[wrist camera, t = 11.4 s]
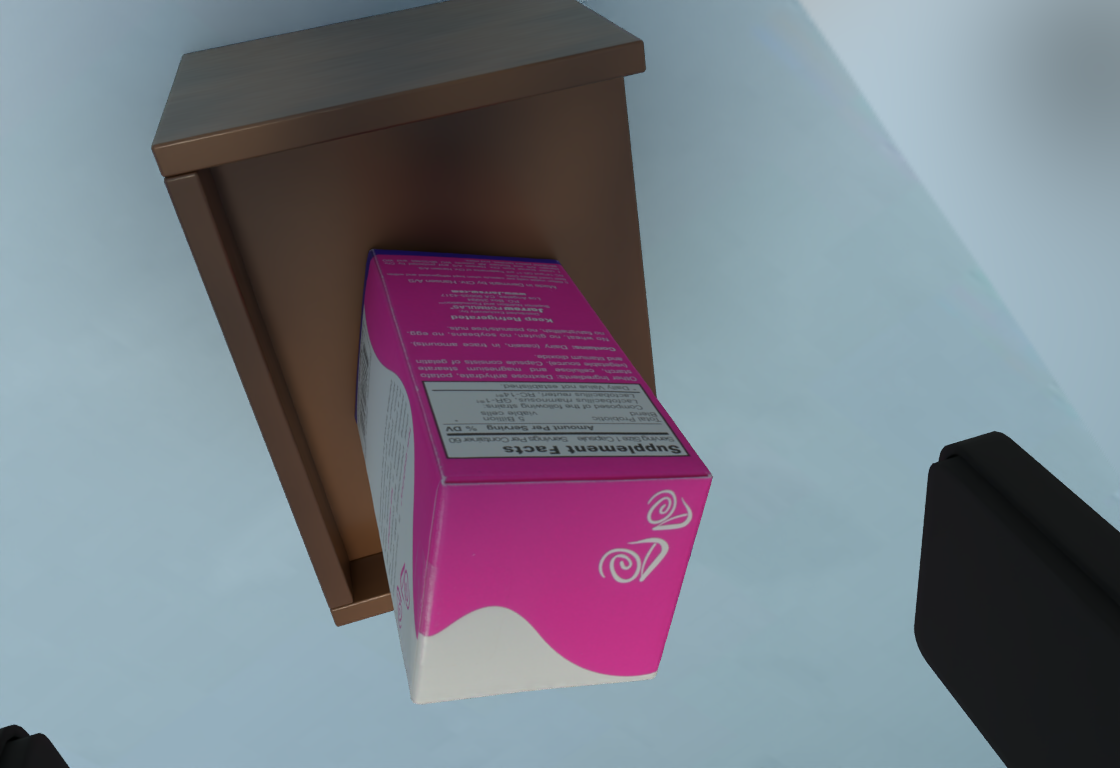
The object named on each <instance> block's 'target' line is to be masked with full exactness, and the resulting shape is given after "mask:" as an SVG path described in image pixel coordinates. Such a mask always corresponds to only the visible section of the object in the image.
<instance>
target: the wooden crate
mask: <svg viewBox="0 0 1120 768" xmlns="http://www.w3.org/2000/svg"><path fill="white" fill-rule="evenodd" d="M645 70H646V65H645V53H644V43H643V41H642V40H641V39H639V38H637V37H636V36H634V35H633V34H631V33H629V32H628V31H626V30H624V29H623V28H621V27H619V26H618V25H616V24H614V23H613V22H611V21H609V20H608V19H606V18H604V17H603V16H601V15H599V14H598V13H596V12H594V11H593V10H591V9H589V8H588V7H586V6H584V5H583V4H581V3H579V2H578V1H576V0H450V1H445V2H440V3H435V4H430V5H425V6H420V7H415V8H410V9H406V10H401V11H396V12H391V13H386V14H381V15H376V16H371V17H366V18H361V19H356V20H351V21H346V22H341V23H336V24H331V25H326V26H322V27H317V28H312V29H307V30H302V31H297V32H292V33H287V34H282V35H277V36H272V37H267V38H262V39H257V40H252V41H247V42H242V43H238V44H233V45H228V46H223V47H218V48H213V49H208V50H203V51H198V52H193V53H188V54H184V55H183V56H182V59H181V61H180V64H179V67H178V70H177V73H176V76H175V79H174V82H173V85H172V88H171V91H170V93H169V96H168V99H167V102H166V105H165V108H164V111H163V114H162V117H161V120H160V123H159V126H158V128H157V131H156V134H155V137H154V140H153V143H152V146H151V149H152V152H153V154H154V157H155V159H156V162H157V165H158V167H159V170H160V172H161V175H162V176H163V177H165V178H164V183H165V185H166V188H167V190H168V193H169V196H170V198H171V201H172V203H173V206H174V209H175V211H176V214H177V216H178V219H179V221H180V224H181V227H182V229H183V232H184V234H185V237H186V240H187V242H188V245H189V247H190V250H191V252H192V255H193V258H194V260H195V263H196V265H197V268H198V270H199V273H200V276H201V278H202V281H203V283H204V286H205V289H206V291H207V294H208V296H209V299H210V301H211V304H212V307H213V309H214V312H215V314H216V317H217V320H218V322H219V325H220V327H221V330H222V332H223V335H224V338H225V340H226V343H227V345H228V348H229V351H230V353H231V356H232V358H233V361H234V363H235V366H236V369H237V371H238V374H239V376H240V379H241V382H242V384H243V387H244V389H245V392H246V394H247V397H248V400H249V402H250V405H251V407H252V410H253V413H254V415H255V418H256V420H257V423H258V425H259V428H260V431H261V433H262V436H263V438H264V441H265V443H266V446H267V449H268V451H269V454H270V456H271V459H272V462H273V464H274V467H275V469H276V472H277V474H278V477H279V480H280V482H281V485H282V487H283V490H284V493H285V495H286V498H287V500H288V503H289V505H290V508H291V511H292V513H293V516H294V518H295V521H296V524H297V526H298V529H299V531H300V534H301V536H302V539H303V542H304V544H305V547H306V549H307V552H308V555H309V557H310V560H311V562H312V565H313V567H314V570H315V573H316V575H317V578H318V580H319V583H320V586H321V588H322V591H323V593H324V596H325V598H326V601H327V604H328V606H329V608H330V612H331V614H332V617H333V619H334V622H335V624H336V626H338V627H339V626H342V625H346V624H349V623H352V622H356V621H359V620H363V619H366V618H369V617H373V616H376V615H379V614H383V613H386V612H390V611H393V610H394V607H393V602H392V597H391V592H390V588H389V583H388V577H387V572H386V567H385V562H384V557H383V551H382V546H381V541H380V536H379V530H378V525H377V520H376V515H375V510H374V505H373V499H372V494H371V489H370V483H369V478H368V474H367V469H366V463H365V458H364V454H363V449H362V445H361V440H360V435H359V430H358V426H357V423H356V421H355V401H356V381H357V365H358V351H359V338H360V325H361V312H362V300H363V289H364V280H365V270H366V263H367V258H368V253H369V250H371V249H379V250H402V251H420V252H437V253H454V254H469V255H485V256H502V257H519V258H534V259H552V260H557V261H559V262H560V264H561V265H562V267H563V268H564V269H565V271H566V272H567V274H568V275H569V276H570V278H571V279H572V281H573V282H574V283H575V285H576V286H577V288H578V289H579V290H580V292H581V293H582V294H583V296H584V297H585V299H586V300H587V301H588V303H589V304H590V306H591V307H592V309H593V310H594V311H595V313H596V314H597V316H598V317H599V318H600V320H601V321H602V323H603V324H604V325H605V327H606V328H607V330H608V331H609V332H610V334H611V335H612V337H613V338H614V340H615V341H616V342H617V344H618V345H619V346H620V348H621V349H622V351H623V352H624V353H625V355H626V356H627V358H628V359H629V360H630V361H631V363H632V365H633V366H634V367H635V368H636V370H637V371H638V372H639V374H640V375H641V377H642V378H643V380H644V381H645V382H646V383H647V385H648V386H649V387H650V389H651V390H652V392H653V394H654V395H655V397H656V398H657V396H656V386H655V376H654V367H653V357H652V347H651V337H650V328H649V318H648V308H647V299H646V289H645V279H644V269H643V260H642V250H641V240H640V230H639V221H638V211H637V201H636V191H635V182H634V172H633V162H632V153H631V143H630V133H629V123H628V114H627V104H626V94H625V84H624V76H628V75H633V74H638V73H642V72H644V71H645Z"/></svg>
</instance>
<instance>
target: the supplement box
mask: <svg viewBox="0 0 1120 768" xmlns="http://www.w3.org/2000/svg"><path fill="white" fill-rule="evenodd" d="M355 421H356V423H357V426H358V430H359V435H360V440H361V445H362V449H363V454H364V458H365V463H366V469H367V474H368V478H369V483H370V489H371V494H372V499H373V505H374V510H375V515H376V520H377V525H378V530H379V536H380V541H381V546H382V551H383V557H384V562H385V567H386V572H387V577H388V583H389V588H390V592H391V597H392V602H393V607H394V612H395V618H396V623H397V627H398V633H399V638H400V644H401V649H402V654H403V659H404V664H405V669H406V673H407V678H408V684H409V689H410V696H411V700H412V701H413V703H415V704H428V703H436V702H445V701H452V700H460V699H468V698H476V697H484V696H492V695H499V694H508V693H516V692H524V691H534V690H543V689H553V688H564V687H575V686H587V685H597V684H608V683H619V682H630V681H639V680H648V679H653V678H654V677H655V676H656V674H657V671H658V666H659V663H660V660H661V657H662V653H663V650H664V645H665V642H666V639H667V636H668V632H669V629H670V625H671V622H672V618H673V614H674V611H675V607H676V604H677V600H678V597H679V593H680V590H681V586H682V583H683V579H684V576H685V572H686V568H687V565H688V561H689V559H690V556H691V552H692V548H693V544H694V541H695V537H696V534H697V531H698V527H699V524H700V520H701V517H702V513H703V510H704V506H705V503H706V499H707V496H708V493H709V489H710V485H711V482H712V478H713V476H712V475H711V473H710V471H709V470H708V468H707V467H706V466H705V464H704V463H703V462H702V460H701V459H700V458H699V456H698V455H697V453H696V452H695V451H694V449H693V448H692V447H691V445H690V444H689V442H688V441H687V439H686V438H685V437H684V435H683V434H682V433H681V431H680V430H679V428H678V427H677V425H676V424H675V423H674V421H673V420H672V418H671V417H670V416H669V414H668V413H667V412H666V410H665V409H664V407H663V406H662V405H661V403H660V402H659V401H658V399H657V398H656V397H655V395H654V394H653V392H652V390H651V389H650V387H649V386H648V385H647V383H646V382H645V381H644V380H643V378H642V377H641V375H640V374H639V372H638V371H637V370H636V368H635V367H634V366H633V365H632V363H631V361H630V360H629V359H628V358H627V356H626V355H625V353H624V352H623V351H622V349H621V348H620V346H619V345H618V344H617V342H616V341H615V340H614V338H613V337H612V335H611V334H610V332H609V331H608V330H607V328H606V327H605V325H604V324H603V323H602V321H601V320H600V318H599V317H598V316H597V314H596V313H595V311H594V310H593V309H592V307H591V306H590V304H589V303H588V301H587V300H586V299H585V297H584V296H583V294H582V293H581V292H580V290H579V289H578V288H577V286H576V285H575V283H574V282H573V281H572V279H571V278H570V276H569V275H568V274H567V272H566V271H565V269H564V268H563V267H562V265H561V264H560V262H559V261H557V260H552V259H534V258H519V257H502V256H485V255H469V254H454V253H437V252H420V251H402V250H379V249H371V250H369V253H368V258H367V263H366V270H365V280H364V289H363V300H362V312H361V325H360V338H359V351H358V365H357V381H356V401H355Z"/></svg>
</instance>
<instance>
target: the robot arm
mask: <svg viewBox="0 0 1120 768" xmlns="http://www.w3.org/2000/svg"><path fill="white" fill-rule="evenodd" d="M914 633H915V638H916V642H917V644H918V647H919V650H920V652H921V654H922V656H923V657H924V659H925V660H926V662H927V663H928V664H929V666H930V667H931V668H932V670H933V671H934V672H935V674H936V675H937V676H938V678H939V679H940V680H941V681H942V683H943V684H944V685H945V687H946V688H947V689H948V691H949V692H950V693H951V694H952V696H953V697H954V698H955V700H956V701H957V702H958V704H959V705H960V706H961V708H962V709H963V710H964V711H965V713H966V714H967V715H968V717H969V718H970V719H971V721H972V722H973V723H974V725H975V726H976V727H977V728H978V730H979V731H980V732H981V734H982V735H983V736H984V738H985V739H986V740H987V742H988V743H989V744H990V745H991V747H992V748H993V749H994V751H995V752H996V753H997V755H998V756H999V757H1000V759H1001V760H1002V761H1003V762H1004V764H1005V765H1006V766H1007V768H1120V532H1119V531H1118V530H1116V529H1115V528H1114V527H1113V526H1112V525H1111V524H1109V523H1108V522H1107V521H1106V520H1105V519H1104V518H1102V517H1101V516H1100V515H1099V514H1098V513H1097V512H1095V511H1094V510H1093V509H1092V508H1091V507H1090V506H1089V505H1087V504H1086V503H1085V502H1084V501H1083V500H1082V499H1080V498H1079V497H1078V496H1077V495H1076V494H1075V493H1073V492H1072V491H1071V490H1070V489H1069V488H1068V487H1066V486H1065V485H1064V484H1063V483H1062V482H1061V481H1059V480H1058V479H1057V478H1056V477H1055V476H1054V475H1052V474H1051V473H1050V472H1049V471H1048V470H1047V469H1045V468H1044V467H1043V466H1042V465H1041V464H1040V463H1039V462H1037V461H1036V460H1035V459H1034V458H1033V457H1032V456H1030V455H1029V454H1028V453H1027V452H1026V451H1025V450H1023V449H1022V448H1021V447H1020V446H1019V445H1018V444H1016V443H1015V442H1014V441H1013V440H1012V439H1011V438H1009V437H1008V436H1006V435H1005V434H1003V433H1001V432H996V431H993V432H990V433H987V434H983V435H980V436H977V437H973V438H970V439H967V440H963V441H960V442H957V443H953V444H950V445H947V446H945V447H944V448H943V449H942V451H941V453H940V457H939V462H937V463H933V464H932V465H931V467H930V469H929V473H928V482H927V493H926V504H925V515H924V526H923V537H922V548H921V558H920V569H919V580H918V591H917V602H916V613H915V624H914ZM0 768H69V766H68V765H67V764H66V762H65V761H64V759H63V758H62V757H61V755H60V754H59V752H58V751H57V750H56V748H55V747H54V745H53V744H52V743H51V741H50V740H49V739H48V738H47V737H46V736H45V735H44V734H41V733H37V734H34V735H31V736H30V735H29V734H28V733H27V732H26V731H25V730H24V729H23V728H22V727H20V726H17V725H11V726H7V727H4V728H1V729H0Z"/></svg>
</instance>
